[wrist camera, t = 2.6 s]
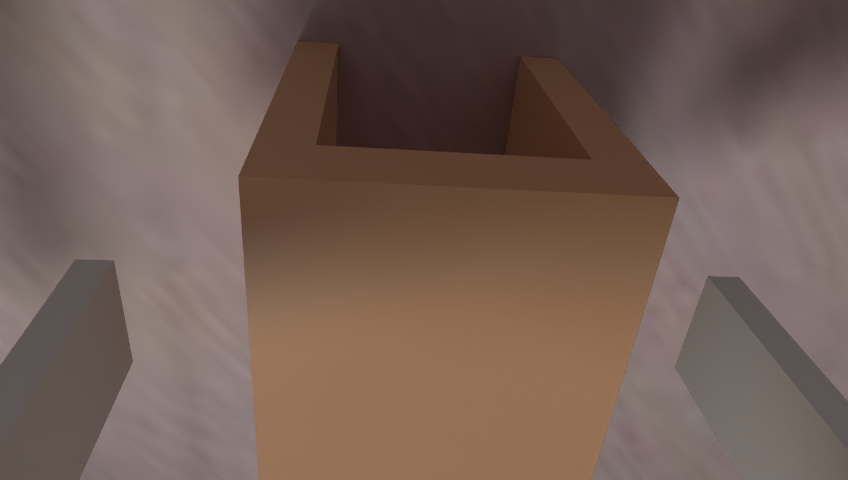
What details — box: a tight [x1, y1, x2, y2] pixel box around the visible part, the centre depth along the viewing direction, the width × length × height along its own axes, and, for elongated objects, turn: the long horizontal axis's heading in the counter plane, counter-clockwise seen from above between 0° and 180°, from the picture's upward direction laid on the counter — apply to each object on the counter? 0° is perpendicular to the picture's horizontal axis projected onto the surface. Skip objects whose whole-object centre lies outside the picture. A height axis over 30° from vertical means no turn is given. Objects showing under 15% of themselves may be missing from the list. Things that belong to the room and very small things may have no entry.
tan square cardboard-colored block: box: [238, 41, 679, 480], centre depth 18 cm, size 8×8×10 cm
